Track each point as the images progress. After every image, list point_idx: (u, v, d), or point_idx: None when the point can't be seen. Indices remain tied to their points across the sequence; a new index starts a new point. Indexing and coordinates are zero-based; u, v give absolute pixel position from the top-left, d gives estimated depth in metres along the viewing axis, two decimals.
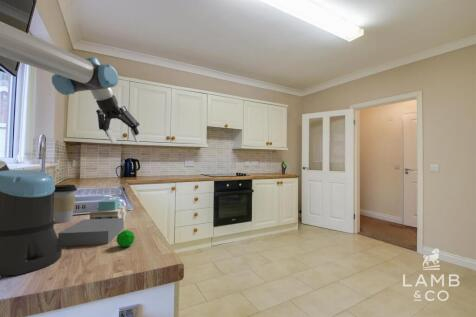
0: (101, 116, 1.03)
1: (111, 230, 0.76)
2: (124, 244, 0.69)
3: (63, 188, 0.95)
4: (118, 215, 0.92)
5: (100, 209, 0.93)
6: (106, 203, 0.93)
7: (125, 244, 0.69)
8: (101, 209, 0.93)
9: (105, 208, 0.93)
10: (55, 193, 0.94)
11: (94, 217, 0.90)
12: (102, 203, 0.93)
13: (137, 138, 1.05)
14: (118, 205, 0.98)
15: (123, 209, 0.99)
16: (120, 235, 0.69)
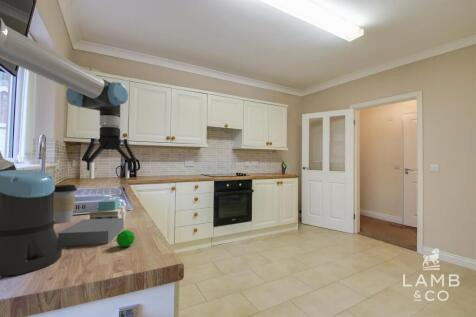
0: (93, 146, 0.95)
1: (111, 230, 0.76)
2: (124, 244, 0.69)
3: (63, 188, 0.95)
4: (118, 215, 0.92)
5: (100, 209, 0.93)
6: (106, 203, 0.93)
7: (125, 244, 0.69)
8: (101, 209, 0.93)
9: (105, 208, 0.93)
10: (55, 193, 0.94)
11: (94, 217, 0.90)
12: (102, 203, 0.93)
13: (128, 174, 0.97)
14: (118, 205, 0.98)
15: (123, 209, 0.99)
16: (120, 235, 0.69)
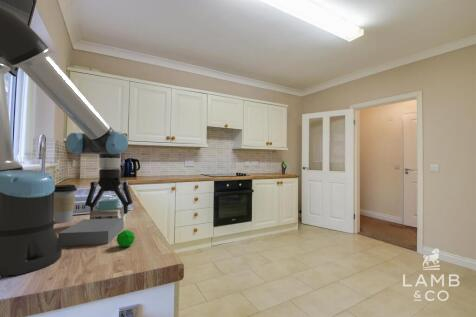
0: (94, 189, 0.95)
1: (111, 230, 0.76)
2: (124, 244, 0.69)
3: (63, 188, 0.95)
4: (118, 215, 0.92)
5: (100, 209, 0.93)
6: (106, 203, 0.93)
7: (125, 244, 0.69)
8: (101, 209, 0.93)
9: (105, 208, 0.93)
10: (55, 193, 0.94)
11: (94, 217, 0.90)
12: (102, 203, 0.93)
13: (124, 218, 0.97)
14: (118, 205, 0.98)
15: None
16: (120, 235, 0.69)
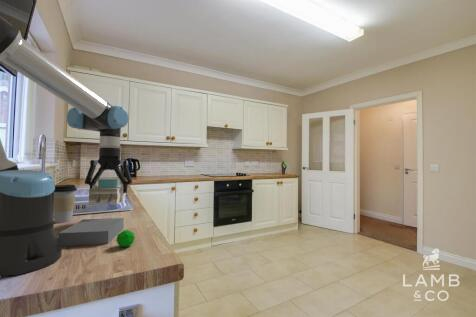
0: (93, 167, 0.94)
1: (111, 230, 0.76)
2: (124, 244, 0.69)
3: (63, 188, 0.95)
4: (117, 193, 0.92)
5: (99, 187, 0.92)
6: (106, 181, 0.93)
7: (125, 244, 0.69)
8: (100, 187, 0.93)
9: (105, 186, 0.93)
10: (55, 193, 0.94)
11: (93, 194, 0.89)
12: (102, 181, 0.93)
13: (123, 197, 0.96)
14: (118, 184, 0.98)
15: None
16: (120, 235, 0.69)
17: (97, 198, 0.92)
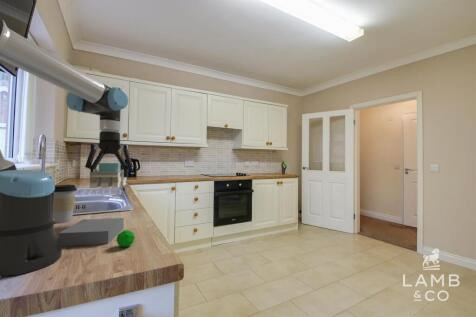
0: (94, 151, 0.94)
1: (111, 230, 0.76)
2: (124, 244, 0.69)
3: (63, 188, 0.95)
4: (118, 176, 0.92)
5: (100, 170, 0.93)
6: (106, 165, 0.93)
7: (125, 244, 0.69)
8: (101, 170, 0.93)
9: (105, 170, 0.93)
10: (55, 193, 0.94)
11: (94, 177, 0.89)
12: (102, 164, 0.93)
13: (124, 181, 0.97)
14: (118, 169, 0.98)
15: None
16: (120, 235, 0.69)
17: (98, 181, 0.92)
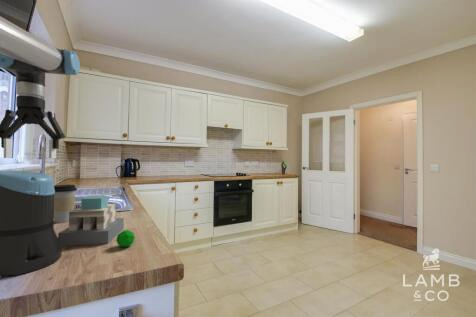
0: (9, 119, 0.80)
1: (111, 230, 0.76)
2: (124, 244, 0.69)
3: (63, 188, 0.95)
4: (104, 215, 0.76)
5: (83, 208, 0.76)
6: (91, 200, 0.77)
7: (125, 244, 0.69)
8: (84, 208, 0.76)
9: (89, 206, 0.77)
10: (55, 193, 0.94)
11: (74, 217, 0.73)
12: (86, 200, 0.76)
13: (53, 153, 0.82)
14: (106, 203, 0.82)
15: (111, 208, 0.82)
16: (120, 235, 0.69)
17: (80, 221, 0.76)
